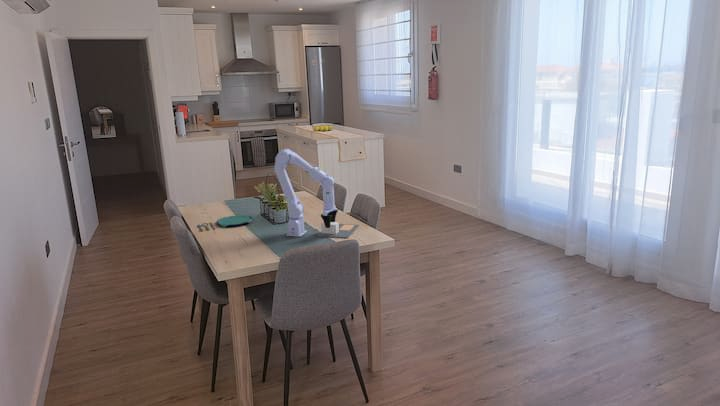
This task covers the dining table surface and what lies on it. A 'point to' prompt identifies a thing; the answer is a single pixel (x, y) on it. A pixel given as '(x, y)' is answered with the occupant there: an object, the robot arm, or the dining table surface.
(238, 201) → the dining table surface
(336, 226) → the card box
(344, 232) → the mat
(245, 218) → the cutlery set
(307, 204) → the dining table surface
